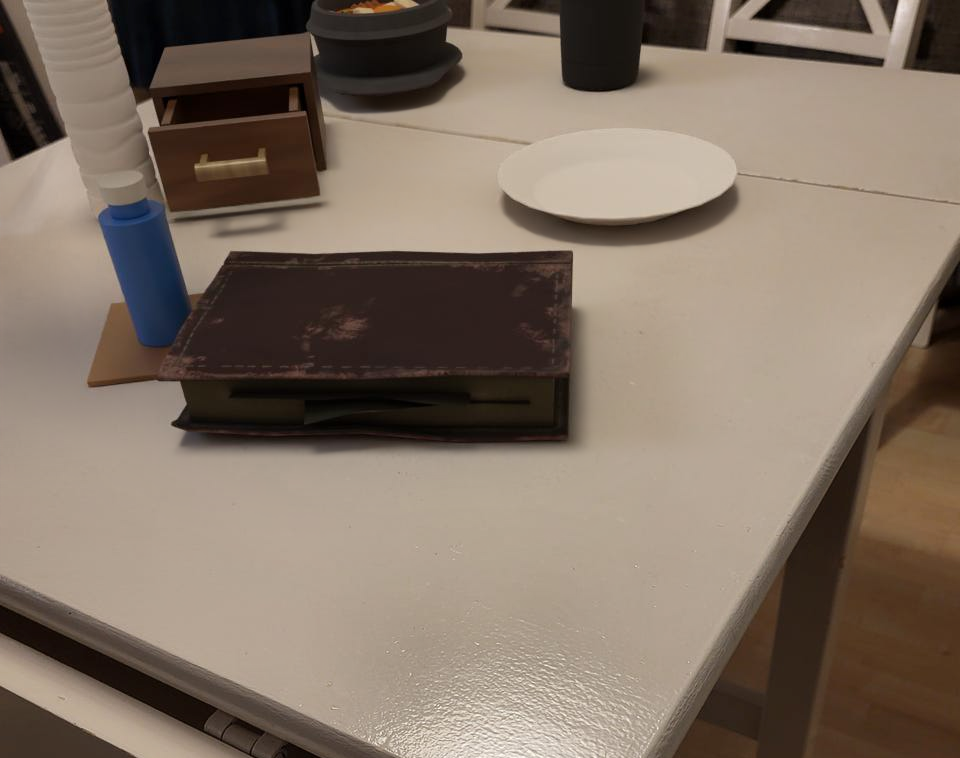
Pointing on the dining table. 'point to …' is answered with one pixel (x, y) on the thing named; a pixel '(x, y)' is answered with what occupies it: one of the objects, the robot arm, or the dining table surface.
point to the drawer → (235, 148)
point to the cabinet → (244, 75)
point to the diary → (380, 346)
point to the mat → (126, 351)
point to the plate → (617, 175)
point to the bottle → (143, 258)
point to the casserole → (381, 45)
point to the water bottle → (92, 92)
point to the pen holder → (600, 42)
